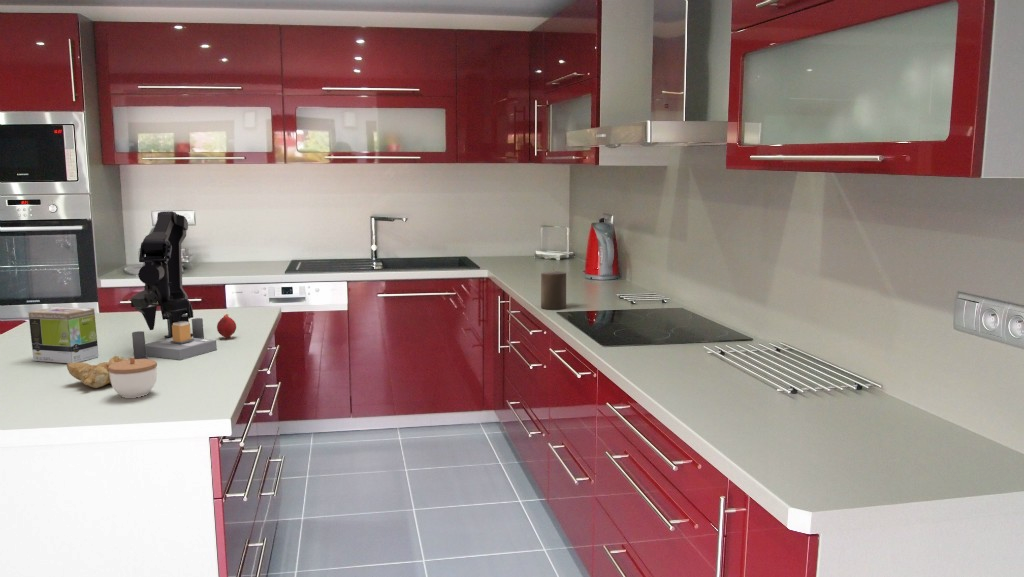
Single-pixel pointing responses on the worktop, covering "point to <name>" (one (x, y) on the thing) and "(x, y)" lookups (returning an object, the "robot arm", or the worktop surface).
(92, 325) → the tea box
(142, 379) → the lidded jar
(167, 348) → the panel
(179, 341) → the block
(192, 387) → the worktop surface
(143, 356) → the cable post
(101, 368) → the ginger root
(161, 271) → the robot arm
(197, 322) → the cable post
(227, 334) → the onion
